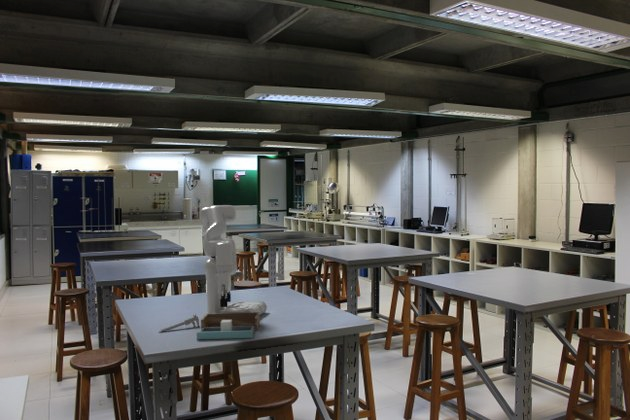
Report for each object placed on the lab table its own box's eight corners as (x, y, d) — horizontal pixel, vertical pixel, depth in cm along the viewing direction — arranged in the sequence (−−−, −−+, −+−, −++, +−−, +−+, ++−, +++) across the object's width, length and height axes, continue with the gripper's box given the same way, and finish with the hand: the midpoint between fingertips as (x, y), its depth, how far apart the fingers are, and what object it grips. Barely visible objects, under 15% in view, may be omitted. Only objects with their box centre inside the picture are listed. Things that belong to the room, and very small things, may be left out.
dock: (206, 325, 254) (206, 313, 254) (259, 323, 255) (259, 312, 254) (201, 331, 242) (200, 319, 242) (257, 330, 243) (256, 318, 242)
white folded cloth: (270, 310, 284) (269, 297, 284) (252, 323, 257) (251, 308, 257) (238, 310, 289) (238, 297, 289) (218, 322, 262) (217, 308, 262)
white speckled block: (222, 332, 238) (222, 319, 238) (232, 332, 238) (231, 319, 238) (221, 335, 233) (220, 322, 233) (230, 334, 233) (230, 322, 233)
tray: (202, 332, 241) (202, 325, 241) (255, 330, 241) (255, 324, 241) (196, 339, 229) (196, 332, 229) (252, 337, 230) (252, 330, 229)
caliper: (198, 325, 255) (197, 313, 255) (199, 326, 254) (198, 314, 254) (158, 332, 244) (157, 320, 244) (158, 333, 243) (158, 320, 243)
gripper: (219, 265, 243) (221, 300, 244) (213, 271, 226) (214, 309, 227) (235, 265, 243) (236, 299, 244) (229, 271, 226) (230, 308, 227)
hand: (225, 304), depth 235 cm, fingers open, 9 cm apart
